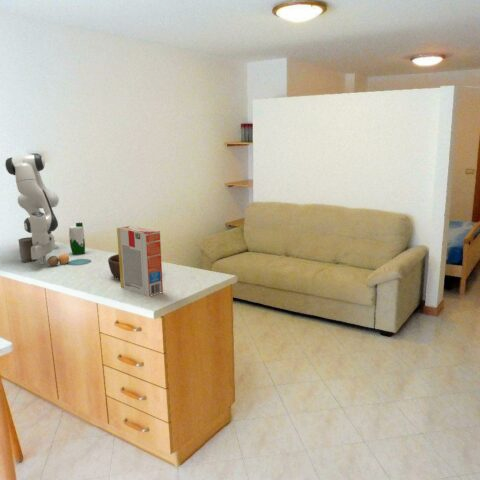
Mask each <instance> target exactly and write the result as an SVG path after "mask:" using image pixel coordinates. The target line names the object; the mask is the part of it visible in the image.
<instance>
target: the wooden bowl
mask: <svg viewBox="0 0 480 480" xmlns="http://www.w3.org/2000/svg"><path fill="white" fill-rule="evenodd" d="M107 262H108V266H109V270H110V273H111V275H112V276H113V277H114V278H115V279H116V280H120V266H119V253H118V254H113V255H111V256H110V257H108V260H107Z"/></svg>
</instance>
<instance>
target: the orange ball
mask: <svg viewBox="0 0 480 480" xmlns="http://www.w3.org/2000/svg"><path fill="white" fill-rule="evenodd" d="M57 258H58V259H59V263H60V264H62V265H65V264H66V265H67V263H68V262H69V261H70V257H69V255H68V254H66V253H61V254H60V255H59V256H58V257H57Z"/></svg>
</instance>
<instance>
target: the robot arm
mask: <svg viewBox="0 0 480 480" xmlns="http://www.w3.org/2000/svg"><path fill="white" fill-rule="evenodd" d="M45 164H46V162H45V159H44V158H43V156H42V155H41V154H40V153H35V154H23V155H18V156H14V157H9V158H8V157H7V159H6V160H5V163H4V166H5V169H6V172H7V173H8V174H10V175H12V176H15V177H14V178H15V182H16V188H17V191H18V192H19V193H20V194H19V195H18V196H17V204H18V206H19V207H20V208H21V209H23V210H25V211H26V213H27V214H28V215H29V217H26V218H25V219H24V221H23V224H24V225H23V226H24V231H26V232H27V233H29V234H31V237H32V243H33V246H32V247H31V258H32V260H37V261H39V263H40V265H43V264H45V263H46V258H47V255H48V254H50V253H52V251H53V249H58V248H59V245H57V244H56V240H55V236H54V235H53V234H52V232H55V230H57V228H58V227H59V222H58V218H57V217H56V215H55V213H54V210H53V209H52V208H56V207H57V206H58V205H59V202H60V201H59V199H60V198H59V196H58V194H57V193H56V192H55V191H54V192H53V191H51V189H49V188H48V187H47V186H46V185H45V183H44V181H43V179H42V176H41V173H40V172H42V171H43V170H44V169H45ZM41 209H43V211H44V212H42V211H41Z"/></svg>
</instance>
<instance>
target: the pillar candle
mask: <svg viewBox="0 0 480 480" xmlns="http://www.w3.org/2000/svg"><path fill="white" fill-rule="evenodd" d="M32 246H33V243H32V236H31V237H29V236H28V237H27V236H26V237H22V238H19V239H18V247H19V253H20V261H21V262H22V263H32V261H33V262H36V260H32V258H31V247H32Z"/></svg>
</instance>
